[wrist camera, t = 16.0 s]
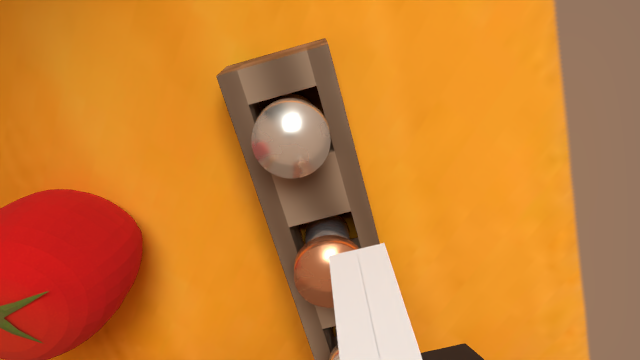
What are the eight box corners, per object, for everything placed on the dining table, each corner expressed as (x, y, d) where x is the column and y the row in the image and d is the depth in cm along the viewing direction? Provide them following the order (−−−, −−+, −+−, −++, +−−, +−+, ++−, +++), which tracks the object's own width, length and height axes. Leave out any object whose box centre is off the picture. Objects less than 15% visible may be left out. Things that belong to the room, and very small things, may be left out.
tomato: (143, 160, 41) (65, 239, 28) (170, 276, 45) (114, 394, 32) (-5, 175, 41) (-155, 260, 28) (35, 289, 45) (-78, 412, 32)
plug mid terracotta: (305, 265, 42) (305, 315, 35) (288, 213, 40) (284, 254, 34) (364, 251, 41) (374, 298, 35) (349, 197, 40) (357, 236, 33)
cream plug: (271, 155, 39) (265, 187, 33) (251, 94, 38) (240, 114, 31) (333, 139, 39) (339, 167, 33) (316, 76, 37) (318, 92, 31)
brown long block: (326, 359, 49) (328, 398, 44) (227, 66, 38) (216, 76, 33) (403, 341, 48) (414, 378, 43) (325, 38, 38) (328, 44, 33)
